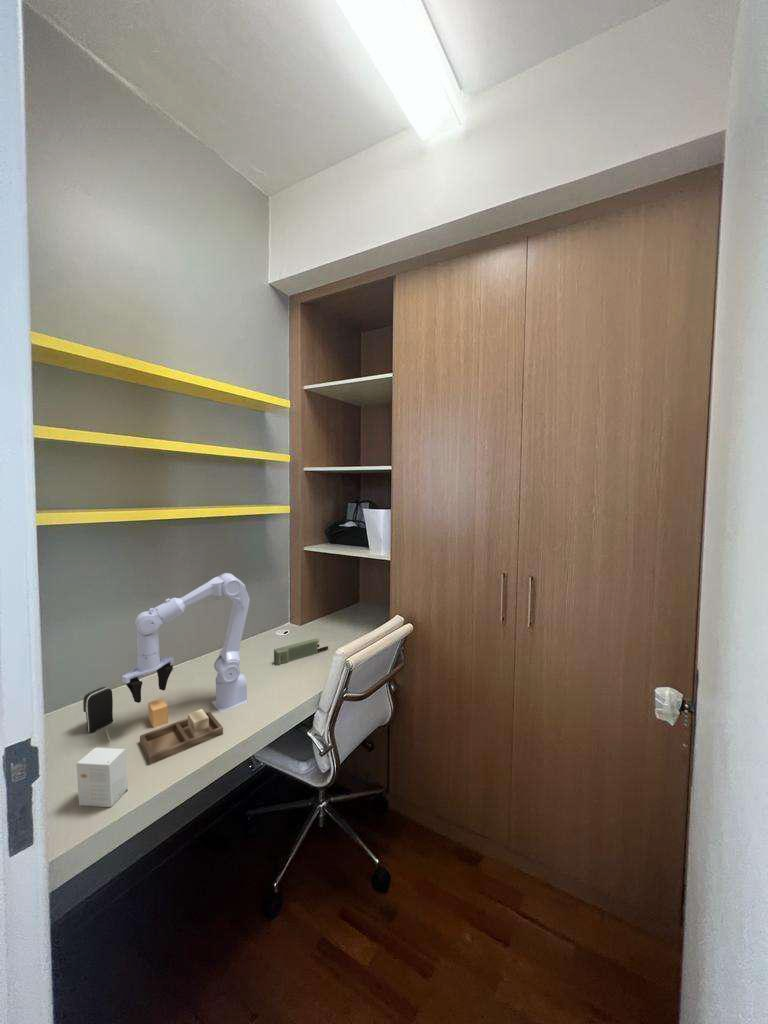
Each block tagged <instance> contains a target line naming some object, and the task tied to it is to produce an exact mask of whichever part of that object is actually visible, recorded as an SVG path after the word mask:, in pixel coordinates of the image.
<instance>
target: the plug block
mask: <svg viewBox="0 0 768 1024" xmlns="http://www.w3.org/2000/svg"><path fill="white" fill-rule="evenodd" d="M147 704H148V705H147V706H148V710H147V711H148V713H147V714H148V720H149V722H150V724H151V726H152V728H157V727H160V726H162V725H165V724H168V723H169V709H168V707H169V706H168V704H167V703H166V701H165V700H164V698H163V697H161V698H158V699H155V700H152V701H149V702H147Z"/></svg>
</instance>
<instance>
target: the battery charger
mask: <svg viewBox="0 0 768 1024" xmlns="http://www.w3.org/2000/svg"><path fill="white" fill-rule="evenodd" d="M113 701H114V700H113V690H112V689H111V688H109V687H106V686H102V687H99V688H97V689H94V690H92V691H90V692H88V693H86V694H85V695H84V697H83V701H82V702H83V703H82V706H83V708H82V710H83V712H84V713H85V716H86V718H85V719H86V727H85V730H86V731H87V732H88V733H90V734H91V733H94V732H95V731H98V730H99V729H102V728H104V727H105V726H107V725H109V724H112V723H113V722H114V717H113V714H114V711H113V708H114V706H113V705H114V704H113V703H114V702H113Z"/></svg>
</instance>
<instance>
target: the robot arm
mask: <svg viewBox="0 0 768 1024" xmlns="http://www.w3.org/2000/svg"><path fill="white" fill-rule="evenodd" d="M222 593H223V594H224V596H226V597H227V598H229V599H230V600H231V601H232V607H231V612H230V616H229V620H228V625H227V630H226V634H225V637H224V643H223V646H222V648H221V650H219V655H218V657H217V658H216V659H215V661H214V664H213V667H214V670H215V671H216V673H217V675H216V677H215V699H214V700H212V701H211V703H212V705H213V706H214V707H215V709H217V710H218V712H220V713H222V712H225V711H227V710H229V709H232V708H234V707H237V706H239V705H243V704H245V703H247V702H248V689H247V688H248V685H247V684H248V683H247V679H246V676H245V674H244V673H241V668H240V662H241V658H240V648H241V643H242V639H243V633H244V630H245V629H244V628H245V626H246V625H245V624H246V620H247V616H248V612H249V608H250V602H251V599H250V595H249V593H248V591H247V588H246V584H244V582H243V581H242V580H240V579H239V578H237V577H236V576H235V575H234V574H233V573H230V572H224V573H222V574H220V575H218V576H215V577H213V578H211V579H210V580H209V581H207V582H205V583H203V584H202V585H201V586H200V585H199V587H197V588H196V589H194V590H192V591H190V592H189V593H187V594H186V595H183V596H182V597H180V598H178V597H172V598H171V599H170V598H166V599H165V602H163V603H161V604H159V605H158V606H155V607H154V608H153V607H150V608H149V610H148V611H147V610H146V611H143V612H141V613H139V614H138V615H137V616H136V618H135V620H134V625H135V628H136V630H137V631H136V654H137V667H134V668H133V669H132V670H130V671H129V672H127V673H126V674H124V675H121V681H122V683H123V684H125V685H126V686H127V688H128V689H129V691H130V693H131V695H132V698H133V700H134V701H133V702H135V703H137V704H139V703H141V702H142V685H143V683H144V682H143V681H141V680H140V677H143V676H144V675H147V674H150V673H154V672H155V671H156V673H157V679H158V688H159V690H160V691H163V692H164V691H166V689H167V684H168V681H169V678H170V675H171V673H172V672H173V669H174V666H173V664H174V662H175V661H174V657H173V656H170V655H169V656H165V657H163V658H160V637H159V633H158V632H159V631H158V630H159V629H160V626H163V625H165V624H166V623H169V622H170V621H172V620H174V619H175V618H177V617H179V616H181V615H183V614H184V611H185V610H186V609H187V607H189V606H192V605H193V604H195V603H198V602H200V601H202V600H203V599H205V598H208V597H209V596H214V597H215V596H216V597H217V596H218V597H222V596H223V594H222Z"/></svg>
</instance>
